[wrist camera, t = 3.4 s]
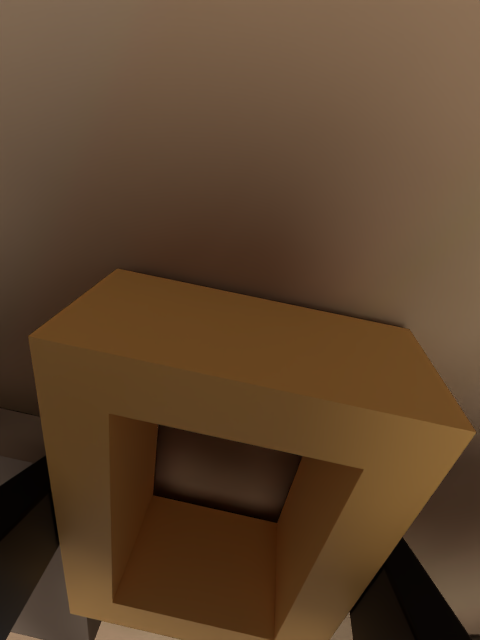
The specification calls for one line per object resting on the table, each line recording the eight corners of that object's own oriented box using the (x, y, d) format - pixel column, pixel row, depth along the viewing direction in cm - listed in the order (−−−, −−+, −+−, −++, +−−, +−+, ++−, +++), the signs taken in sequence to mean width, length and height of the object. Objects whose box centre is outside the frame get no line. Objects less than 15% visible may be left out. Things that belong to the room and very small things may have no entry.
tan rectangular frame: (409, 329, 7) (476, 432, 5) (303, 550, 12) (308, 669, 9) (117, 268, 8) (28, 336, 5) (117, 508, 12) (70, 613, 9)
